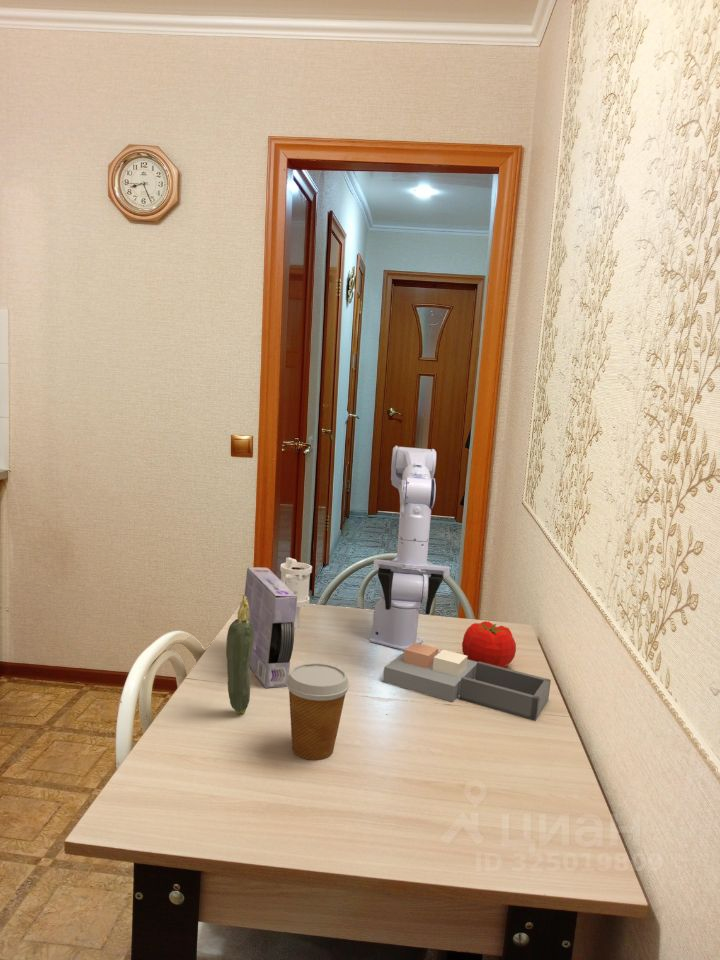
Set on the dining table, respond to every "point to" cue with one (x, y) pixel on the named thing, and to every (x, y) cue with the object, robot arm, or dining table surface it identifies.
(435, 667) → the tile cream
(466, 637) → the tomato
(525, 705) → the box
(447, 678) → the slate board
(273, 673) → the cake pan box
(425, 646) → the tile terracotta
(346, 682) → the disposable coffee cup
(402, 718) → the dining table surface
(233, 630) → the vegetable
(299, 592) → the strainer
